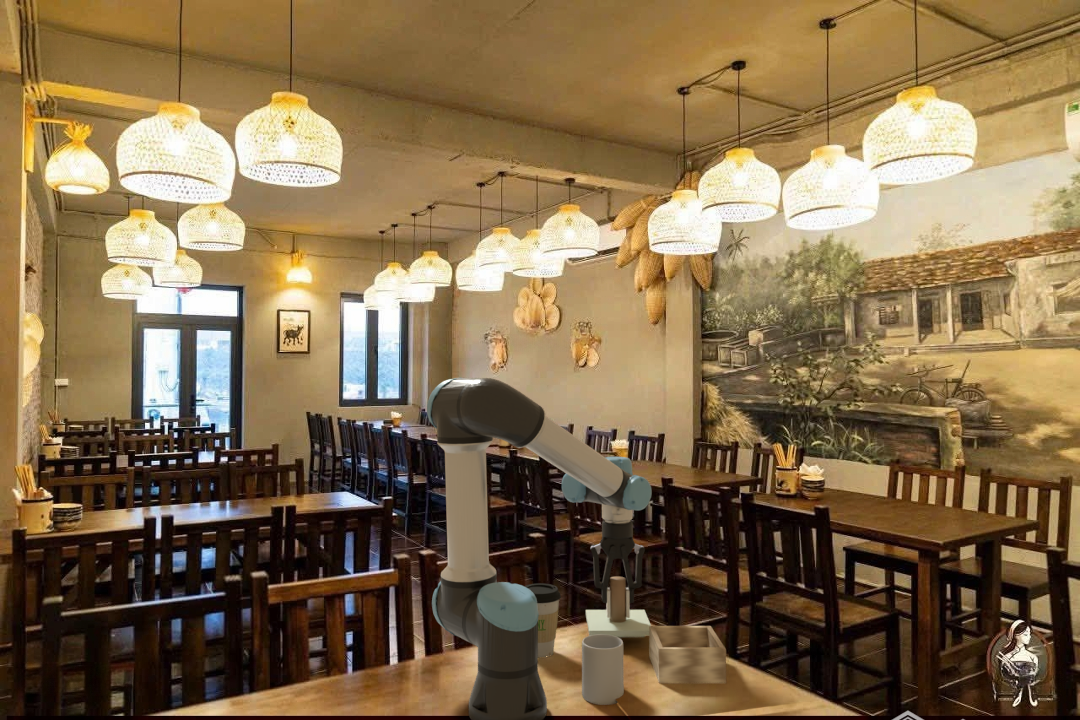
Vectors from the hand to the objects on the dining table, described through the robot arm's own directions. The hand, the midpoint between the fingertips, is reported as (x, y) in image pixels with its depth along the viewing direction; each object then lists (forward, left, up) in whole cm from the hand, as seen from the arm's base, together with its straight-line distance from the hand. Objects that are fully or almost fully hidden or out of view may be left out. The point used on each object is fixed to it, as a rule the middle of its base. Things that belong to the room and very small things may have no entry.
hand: (617, 615), depth 175 cm
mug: (-6, -28, -7) cm, 29 cm away
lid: (0, 0, -3) cm, 3 cm away
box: (+13, -19, -6) cm, 24 cm away
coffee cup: (-19, -7, -7) cm, 21 cm away
